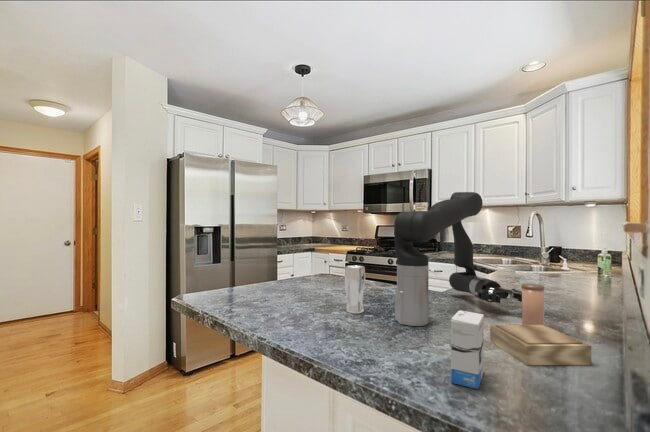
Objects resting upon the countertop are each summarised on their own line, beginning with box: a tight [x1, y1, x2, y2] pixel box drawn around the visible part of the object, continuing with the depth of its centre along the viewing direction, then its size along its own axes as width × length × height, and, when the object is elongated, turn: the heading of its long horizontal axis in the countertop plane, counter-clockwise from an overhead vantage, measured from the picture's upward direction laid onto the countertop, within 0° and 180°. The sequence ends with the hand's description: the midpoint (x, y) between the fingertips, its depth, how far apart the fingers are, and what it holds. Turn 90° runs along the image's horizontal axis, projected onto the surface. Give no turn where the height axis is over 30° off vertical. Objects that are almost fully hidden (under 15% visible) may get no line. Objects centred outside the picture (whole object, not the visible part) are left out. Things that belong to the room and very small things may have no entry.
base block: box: [489, 324, 592, 366], centre depth 75 cm, size 14×14×4 cm
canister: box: [521, 282, 546, 325], centre depth 89 cm, size 5×5×13 cm
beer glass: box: [344, 264, 366, 314], centre depth 109 cm, size 7×7×15 cm
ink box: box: [450, 310, 485, 390], centre depth 62 cm, size 8×5×12 cm, turn 148°
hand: (513, 299), depth 98 cm, fingers open, 8 cm apart
